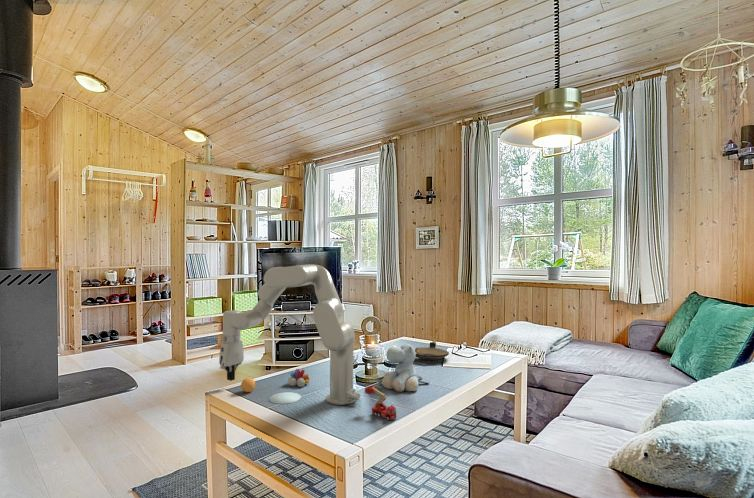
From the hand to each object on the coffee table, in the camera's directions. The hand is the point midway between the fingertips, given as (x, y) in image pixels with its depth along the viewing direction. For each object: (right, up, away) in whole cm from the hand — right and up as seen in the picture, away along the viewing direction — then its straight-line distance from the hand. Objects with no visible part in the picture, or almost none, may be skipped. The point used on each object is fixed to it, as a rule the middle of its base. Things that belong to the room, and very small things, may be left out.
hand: (230, 379), depth 185 cm
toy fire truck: (+66, -4, -29) cm, 73 cm away
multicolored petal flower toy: (+29, -5, +6) cm, 30 cm away
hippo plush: (+78, -5, +7) cm, 78 cm away
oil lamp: (+96, -5, +53) cm, 110 cm away
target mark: (+27, -4, -12) cm, 29 cm away
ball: (+9, -1, -4) cm, 10 cm away
